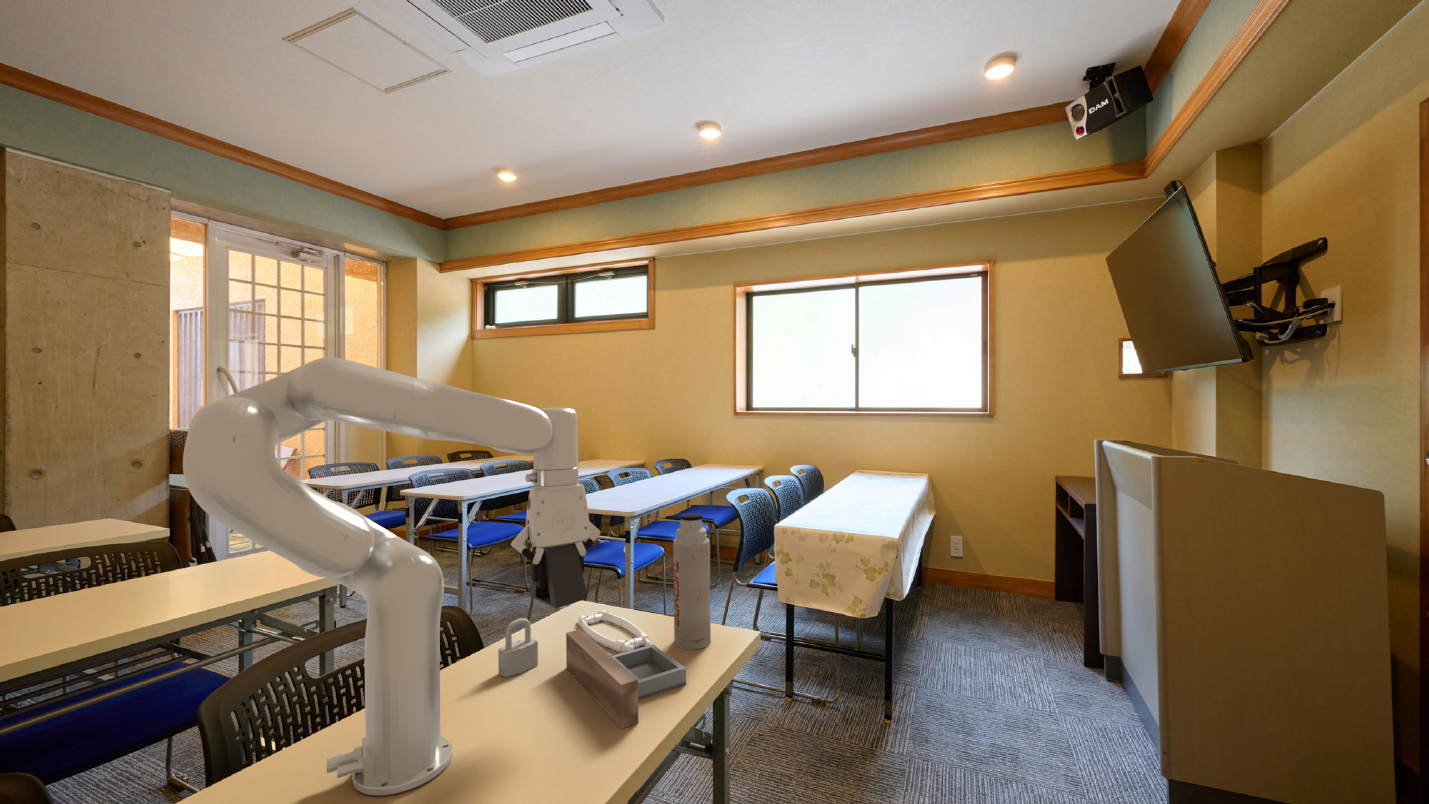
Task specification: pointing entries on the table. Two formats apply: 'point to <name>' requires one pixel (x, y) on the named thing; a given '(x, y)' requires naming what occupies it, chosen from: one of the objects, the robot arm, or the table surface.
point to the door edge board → (603, 678)
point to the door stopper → (560, 577)
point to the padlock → (518, 651)
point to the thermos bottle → (691, 584)
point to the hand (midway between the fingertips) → (558, 580)
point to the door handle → (611, 644)
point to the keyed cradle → (652, 670)
